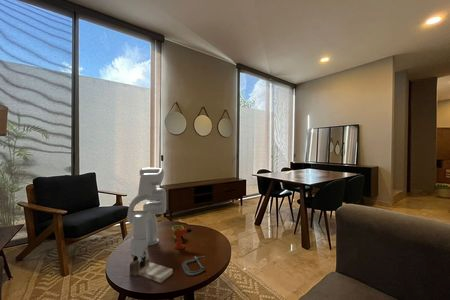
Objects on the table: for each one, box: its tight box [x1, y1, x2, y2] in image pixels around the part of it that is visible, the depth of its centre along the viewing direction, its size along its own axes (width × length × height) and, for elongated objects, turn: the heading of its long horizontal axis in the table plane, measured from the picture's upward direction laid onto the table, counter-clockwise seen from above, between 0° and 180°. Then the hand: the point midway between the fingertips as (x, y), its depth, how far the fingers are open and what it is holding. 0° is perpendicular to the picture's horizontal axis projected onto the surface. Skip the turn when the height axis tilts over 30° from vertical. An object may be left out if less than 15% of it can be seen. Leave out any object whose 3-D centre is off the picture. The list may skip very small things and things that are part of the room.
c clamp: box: [180, 255, 206, 277], centre depth 137 cm, size 20×17×3 cm
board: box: [137, 261, 174, 283], centre depth 129 cm, size 24×10×3 cm, turn 64°
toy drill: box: [173, 227, 199, 250], centre depth 162 cm, size 5×19×15 cm, turn 94°
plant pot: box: [171, 225, 185, 240], centre depth 179 cm, size 9×9×9 cm
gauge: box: [129, 257, 150, 277], centre depth 130 cm, size 5×10×7 cm, turn 154°
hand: (139, 265), depth 130 cm, fingers closed on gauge, 5 cm apart
